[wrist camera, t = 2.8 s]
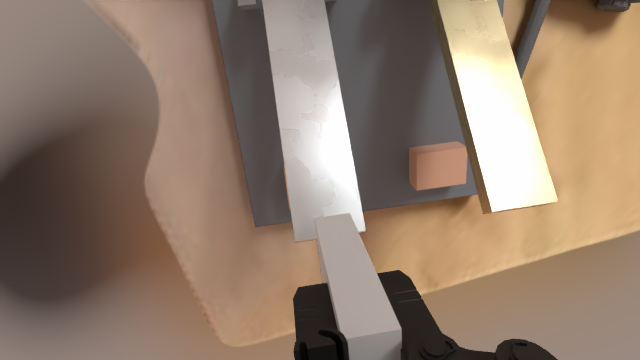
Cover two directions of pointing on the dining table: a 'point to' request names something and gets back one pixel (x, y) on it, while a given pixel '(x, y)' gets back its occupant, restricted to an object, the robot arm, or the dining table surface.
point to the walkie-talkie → (615, 3)
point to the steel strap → (310, 116)
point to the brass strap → (491, 106)
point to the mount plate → (354, 104)
